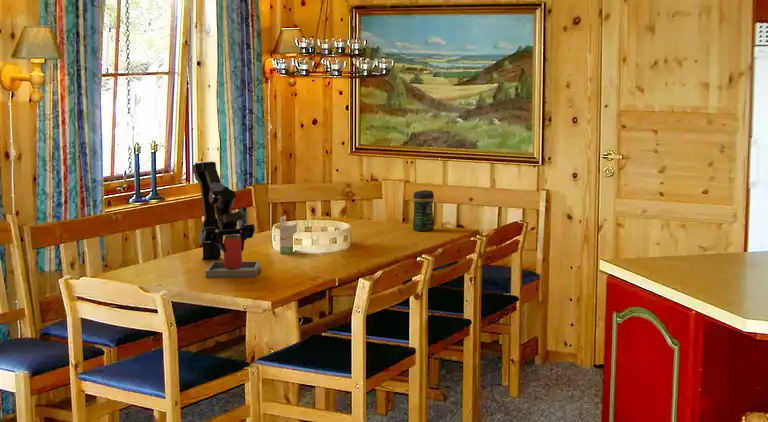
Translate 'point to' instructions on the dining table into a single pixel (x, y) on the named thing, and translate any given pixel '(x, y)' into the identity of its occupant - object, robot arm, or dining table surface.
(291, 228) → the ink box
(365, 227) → the dining table surface
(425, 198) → the coffee jar
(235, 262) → the beer can
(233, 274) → the parts tray
